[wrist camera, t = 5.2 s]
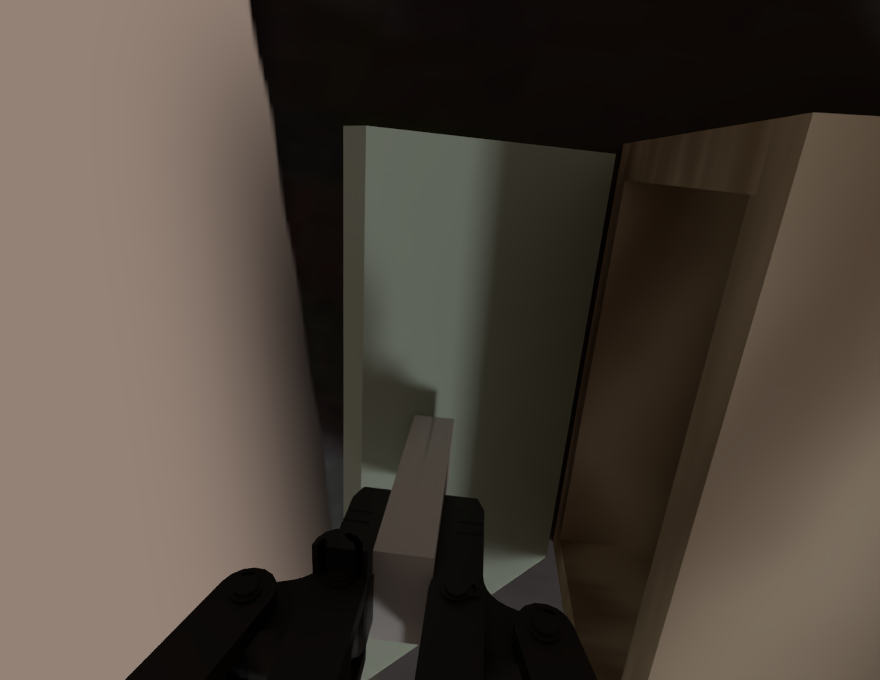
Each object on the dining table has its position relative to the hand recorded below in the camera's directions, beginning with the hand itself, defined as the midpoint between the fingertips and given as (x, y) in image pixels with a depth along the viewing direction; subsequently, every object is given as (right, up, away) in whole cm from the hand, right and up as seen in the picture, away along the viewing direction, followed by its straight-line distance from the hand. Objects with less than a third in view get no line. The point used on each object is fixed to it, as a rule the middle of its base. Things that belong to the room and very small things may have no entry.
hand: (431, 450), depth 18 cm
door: (+6, +2, +7) cm, 10 cm away
